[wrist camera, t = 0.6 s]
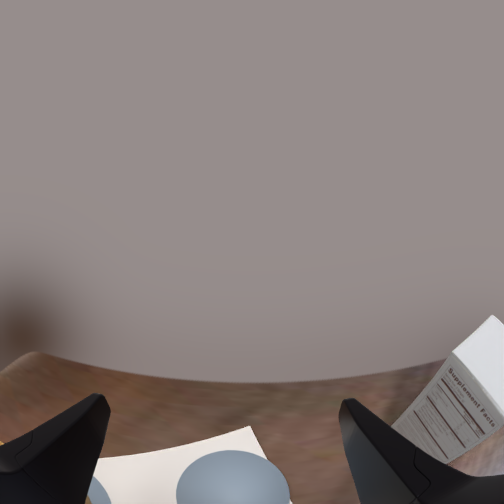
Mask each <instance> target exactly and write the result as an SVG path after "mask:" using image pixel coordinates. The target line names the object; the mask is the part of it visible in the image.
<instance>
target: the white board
mask: <svg viewBox="0 0 504 504" xmlns="http://www.w3.org/2000/svg"><path fill="white" fill-rule="evenodd" d="M87 495H88V496H89V498H90V501H91V503H92V504H292V502H291V500H290V493H289V487H288V484H287V482H286V479H285V477H284V476H283V474H282V473H281V472H280V470H279V469H278V468H277V467H276V466H275V465H273V464H272V463H271V462H269V461H268V460H267V458H266V456H265V454H264V452H263V450H262V449H261V447H260V445H259V443H258V441H257V439H256V437H255V435H254V433H253V431H252V429H251V427H250V426H248V427H245V428H242V429H239V430H236V431H233V432H230V433H227V434H224V435H220V436H217V437H213V438H210V439H206V440H203V441H199V442H195V443H191V444H187V445H183V446H178V447H174V448H169V449H164V450H159V451H154V452H148V453H142V454H135V455H128V456H120V457H111V458H99V459H98V462H97V465H96V468H95V471H94V474H93V477H92V481H91V484H90V487H89V491H88V494H87Z"/></svg>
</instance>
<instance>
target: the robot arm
mask: <svg viewBox="0 0 504 504" xmlns="http://www.w3.org/2000/svg"><path fill="white" fill-rule="evenodd" d="M110 413H111V410H110V407H109V405H108V403H107V401H106V399H105V397H104V395H102V394H98V393H93V394H91V395H90V396H88V397H86V398H85V399H83V400H82V401H80V402H78V403H77V404H75V405H73V406H72V407H70V408H68V409H67V410H65V411H64V412H62V413H60V414H59V415H57V416H55V417H54V418H52V419H50V420H49V421H47V422H45V423H43V424H42V425H40V426H38V427H37V428H35V429H34V430H31V431H30V432H28V433H26V434H24V435H22V436H21V437H19V438H16V439H14V440H12V441H10V442H7V443H5V444H3V445H0V504H85V502H86V498H87V494H88V491H89V487H90V484H91V481H92V477H93V474H94V471H95V468H96V465H97V462H98V459H99V456H100V453H101V450H102V447H103V443H104V440H105V435H106V431H107V426H108V422H109V418H110ZM339 422H340V427H341V433H342V439H343V444H344V450H345V454H346V457H347V460H348V463H349V467H350V470H351V473H352V476H353V479H354V483H355V486H356V489H357V492H358V496H359V499H360V502H361V504H504V474H503V475H495V476H484V477H475V476H470V475H467V474H465V473H463V472H460V471H458V470H456V469H454V468H452V467H450V466H448V465H446V464H444V463H442V462H441V461H439V460H437V459H435V458H434V457H432V456H431V455H429V454H427V453H426V452H424V451H423V450H422V449H420V448H419V447H416V445H415V444H413V443H412V442H411V441H409V440H408V439H406V438H405V437H404V436H402V435H401V434H400V433H398V432H397V431H396V430H394V429H393V428H392V427H391V426H389V425H388V424H387V423H385V422H384V421H383V420H381V419H380V418H379V417H378V416H376V415H375V414H374V413H372V412H371V411H370V410H369V409H367V408H366V407H365V406H364V405H362V404H361V403H360V402H359V401H357V400H356V399H355V398H349V399H344V400H343V401H342V404H341V408H340V411H339Z"/></svg>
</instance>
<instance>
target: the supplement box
mask: <svg viewBox="0 0 504 504" xmlns="http://www.w3.org/2000/svg"><path fill="white" fill-rule="evenodd" d="M503 425H504V325H503V324H502V323H501V322H500V321H499V320H498V319H497V318H496V317H495V316H493V315H491V316H490V317H489V318H488V319H487V320H486V321H485V322H484V323H483V324H482V325H481V326H480V327H479V328H478V329H477V330H475V332H473V333H472V334H471V335H470V336H469V337H468V338H467V339H466V340H465V341H463V342H462V343H461V344H460V345H459V346H458V347H457V348H456V349H454V350H453V351H452V352H451V354H450V355H449V357H448V358H447V360H446V361H445V363H444V364H443V365H442V367H441V368H440V369H439V371H438V372H437V373H436V375H435V376H434V377H433V379H432V380H431V381H430V382H429V384H428V385H427V386H426V387H425V388H424V390H423V391H422V392H421V393H420V394H419V396H418V397H417V398H416V399H415V400H414V402H413V403H412V404H411V405H410V406H409V407H408V408H407V409H406V411H405V412H404V413H403V414H402V415H401V416H400V417H399V418H398V419H397V420H396V421H395V422H394V424H393V425H392V426H391V427H392V428H393V429H394V430H396V431H397V432H398V433H400V434H401V435H402V436H404V437H405V438H406V439H408V440H409V441H411V442H412V443H413V444H415V445H416V447H419V448H420V449H422V450H423V451H424V452H426V453H427V454H429V455H431V456H432V457H434V458H435V459H437V460H439V461H441V462H442V463H444V464H447V463H449V462H451V461H452V460H454V459H456V458H458V457H459V456H461V455H463V454H464V453H466V452H467V451H469V450H470V449H472V448H473V447H475V446H477V445H478V444H479V443H481V442H482V441H484V440H485V439H487V438H488V437H489V436H491V435H492V434H493V433H495V432H496V431H497V430H498V429H500V428H501V427H502V426H503Z"/></svg>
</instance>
